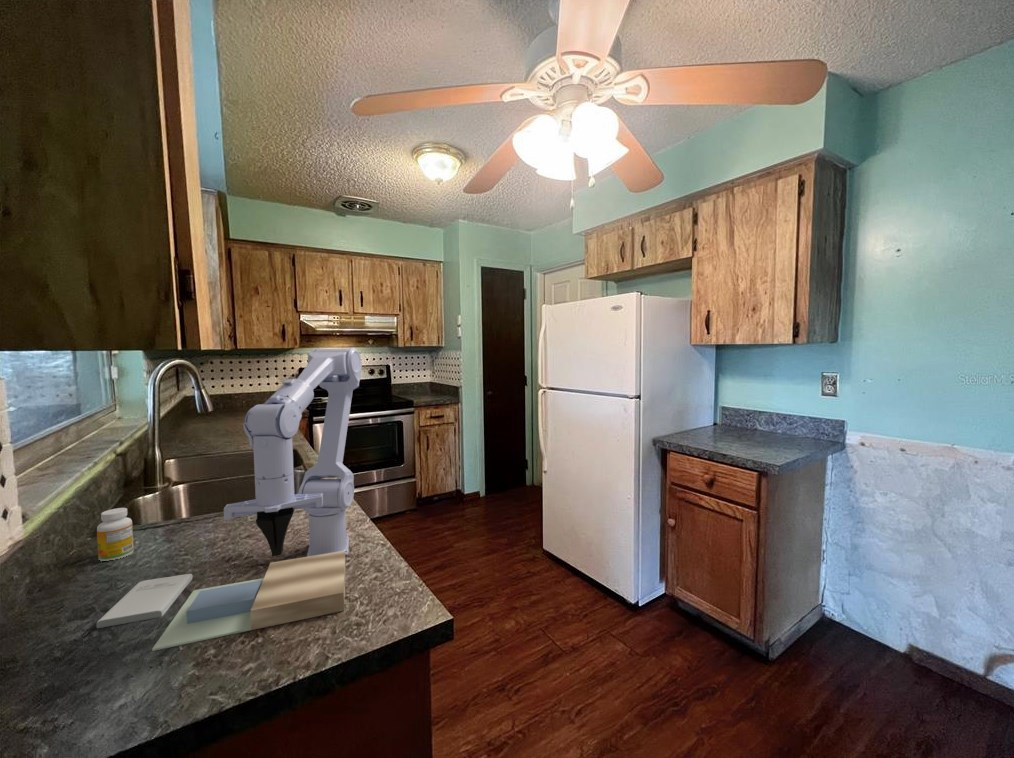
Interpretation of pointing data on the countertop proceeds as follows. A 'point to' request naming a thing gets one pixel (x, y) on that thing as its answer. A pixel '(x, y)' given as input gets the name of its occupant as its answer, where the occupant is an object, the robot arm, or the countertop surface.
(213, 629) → the mat
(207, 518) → the countertop surface
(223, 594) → the blue flat block
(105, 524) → the supplement bottle
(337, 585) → the board
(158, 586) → the external hard drive
